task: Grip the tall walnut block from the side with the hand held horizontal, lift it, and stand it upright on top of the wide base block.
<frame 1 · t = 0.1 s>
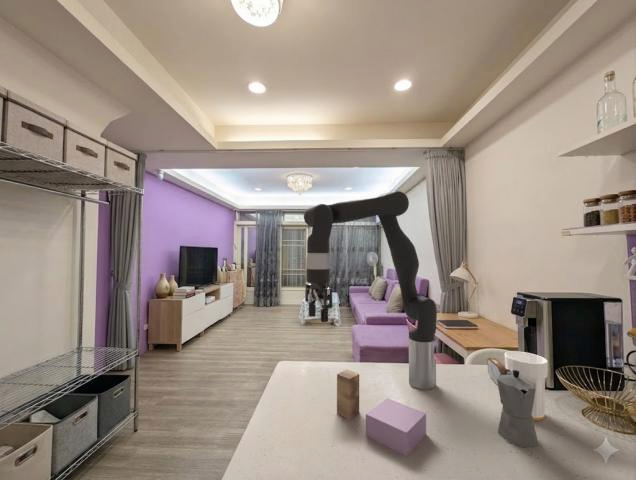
hand: (317, 319, 92), 29 cm above the kitchen counter, tool pointing down, fingers open, 8 cm apart
base block: (396, 435, 80), on the kitchen counter
tin: (497, 383, 113), on the kitchen counter
cup: (526, 413, 92), on the kitchen counter
walnut block: (348, 412, 91), on the kitchen counter
coffeepot: (515, 435, 81), on the kitchen counter
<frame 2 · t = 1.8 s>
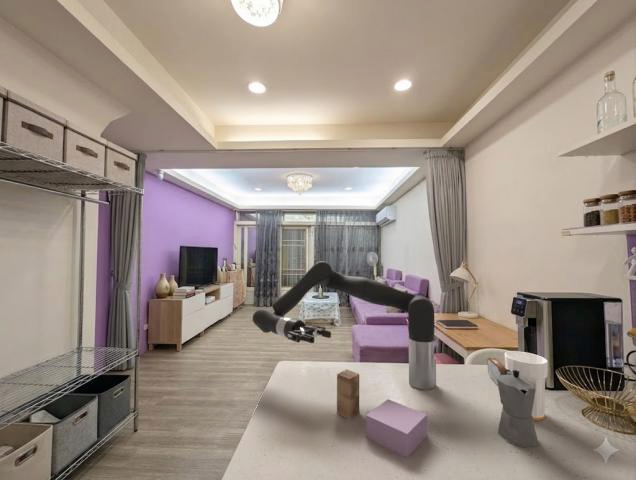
hand: (322, 337, 100), 21 cm above the kitchen counter, tool horizontal, fingers open, 8 cm apart
nothing on the kitchen counter moved.
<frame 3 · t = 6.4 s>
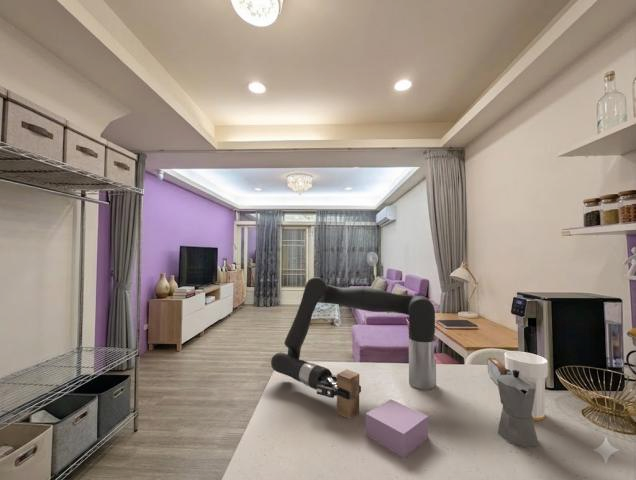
hand: (355, 392, 90), 7 cm above the kitchen counter, tool horizontal, fingers closed on walnut block, 5 cm apart
walnut block: (348, 412, 91), on the kitchen counter, touching gripper
everything else where it was.
when the fingers open (14 cm above the kitchen counter, at t = 11.0 s): walnut block drops 1 cm, point 6 cm above the kitchen counter.
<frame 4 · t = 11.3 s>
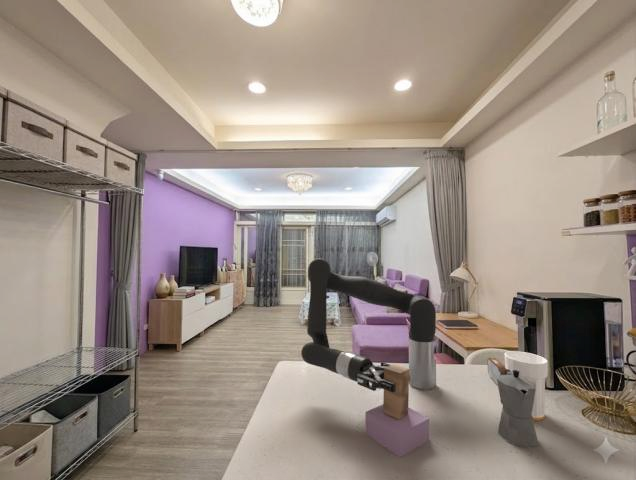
hand: (402, 383, 80), 15 cm above the kitchen counter, tool horizontal, fingers open, 8 cm apart
walnut block: (395, 412, 81), point 6 cm above the kitchen counter
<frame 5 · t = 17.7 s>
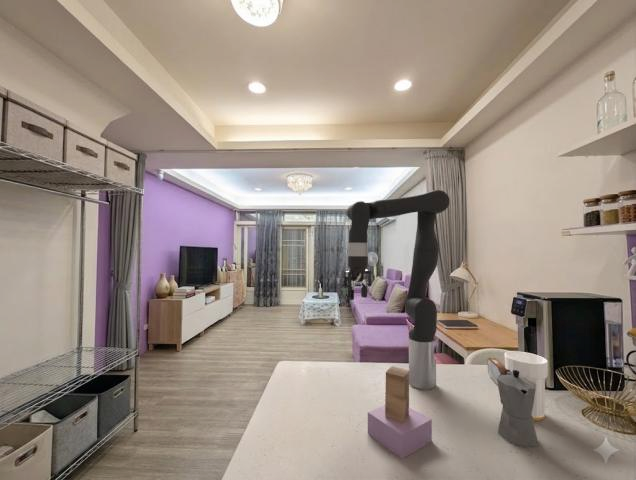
hand: (357, 298, 109), 33 cm above the kitchen counter, tool pointing down, fingers open, 8 cm apart
walnut block: (397, 415, 80), point 6 cm above the kitchen counter
at the end: walnut block 0.5 cm off-centre on the base block, point 6.1 cm above the base block's base; walnut block tilted 1°; the gripper is holding nothing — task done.
